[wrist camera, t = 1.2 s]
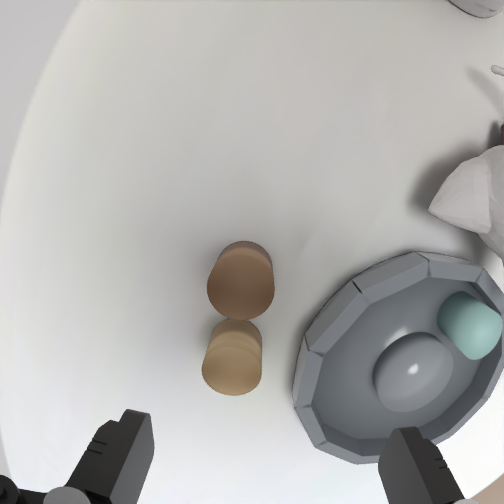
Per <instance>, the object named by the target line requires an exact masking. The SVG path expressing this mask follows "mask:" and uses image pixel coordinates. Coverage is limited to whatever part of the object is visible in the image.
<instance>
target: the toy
mask: <svg viewBox="0 0 504 504" xmlns="http://www.w3.org/2000/svg"><path fill="white" fill-rule="evenodd" d="M491 70H492V72H493V73H495V74H498V75H501V76H504V68H501V67H498V66H495V65H493V66H492V67H491ZM500 130H501V145H499V146H494V147H492V148H490V149H488V150H486V151H484V152H483V153H482V154H481V155H480V156H479V157H474V158H471V159H469V160H466V161H464V162H462V163H461V164H460V165H459V166H458V167H457V168H456V169H455V170H454V171H453V172H452V173H451V174H450V175H449V176H448V177H447V178H446V180H445V181H444V182H443V184H442V186H441V187H440V189H439V190H438V192H437V194H436V195H435V197H434V199H433V200H432V202H431V204H430V206H429V209H428V211H429V212H430V213H431V214H432V215H434V216H436V217H437V218H439V219H441V220H443V221H445V222H447V223H449V224H451V225H454V226H456V227H460V228H463V229H466V230H469V231H473V232H476V233H478V235H479V236H480V237H481V239H482V240H483V241H484V242H485V243H486V245H487V246H488V247H489V248H490V249H491V250H493V251H494V252H495V253H496V254H497V255H498V256H499V257H500V258H501V259H502V262H503V266H504V121H503V124H502V125H501V128H500Z"/></svg>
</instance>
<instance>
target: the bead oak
mask: <svg viewBox="0 0 504 504" xmlns="http://www.w3.org/2000/svg"><path fill="white" fill-rule="evenodd" d="M202 375H203V378H204V380H205V382H206V383H207V384H208V385H209V386H210V387H211V388H212V389H214V390H215V391H217V392H219V393H222V394H225V395H232V396H235V395H242V394H245V393H248V392H250V391H251V390H253V389H254V388H255V387H256V386H257V385H258V384H259V382H260V380H261V375H262V338H261V334H260V332H259V330H258V329H257V327H256V326H255V325H253V324H252V323H250V322H249V321H247V320H234V319H227V320H224V321H222V322H220V323H219V324H218V325H217V326H216V327H215V328H214V330H213V332H212V335H211V338H210V342H209V345H208V348H207V351H206V355H205V358H204V361H203V364H202Z"/></svg>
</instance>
